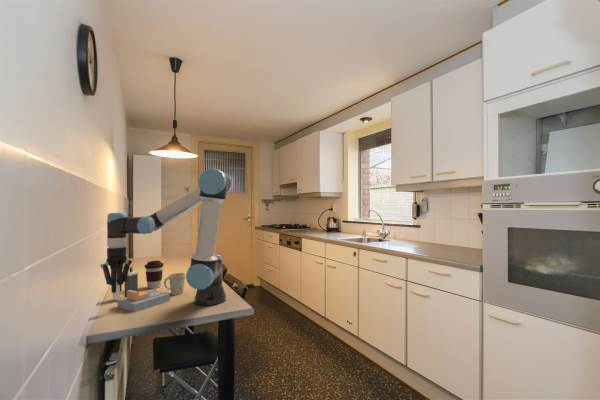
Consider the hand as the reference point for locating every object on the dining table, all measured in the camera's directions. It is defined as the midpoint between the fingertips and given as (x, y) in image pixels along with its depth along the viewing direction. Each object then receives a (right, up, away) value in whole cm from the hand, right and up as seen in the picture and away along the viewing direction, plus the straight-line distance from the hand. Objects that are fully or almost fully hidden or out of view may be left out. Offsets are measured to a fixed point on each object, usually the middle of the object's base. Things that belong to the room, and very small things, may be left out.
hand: (116, 299), depth 139 cm
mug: (+14, -6, +29) cm, 33 cm away
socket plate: (+7, -6, +11) cm, 14 cm away
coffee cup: (-2, -6, +41) cm, 41 cm away
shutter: (+5, -2, +9) cm, 10 cm away
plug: (-5, -6, +22) cm, 23 cm away
